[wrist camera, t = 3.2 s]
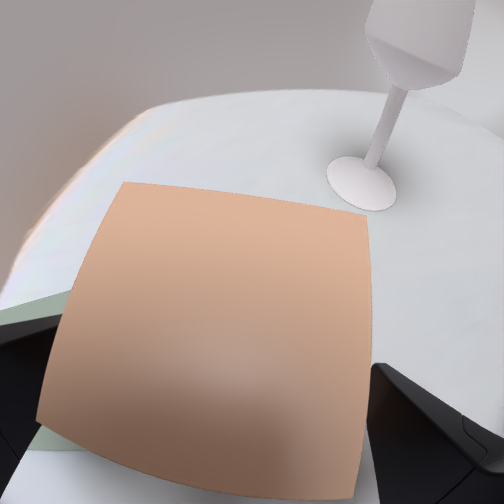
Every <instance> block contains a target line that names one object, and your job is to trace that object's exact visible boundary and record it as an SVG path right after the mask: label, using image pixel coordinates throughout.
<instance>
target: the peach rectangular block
mask: <svg viewBox="0 0 504 504" xmlns="http://www.w3.org/2000/svg"><path fill="white" fill-rule="evenodd" d="M371 353H372V285H371V264H370V249H369V237H368V226H367V216H365V215H360V214H355V213H350V212H345V211H340V210H335V209H329V208H324V207H318V206H313V205H307V204H301V203H295V202H289V201H283V200H276V199H270V198H263V197H257V196H250V195H243V194H235V193H228V192H220V191H212V190H204V189H195V188H186V187H177V186H167V185H156V184H145V183H133V182H123V184H122V185H121V187H120V189H119V191H118V192H117V194H116V196H115V198H114V200H113V202H112V203H111V205H110V207H109V209H108V211H107V213H106V215H105V217H104V219H103V220H102V222H101V224H100V226H99V228H98V230H97V233H96V235H95V237H94V239H93V241H92V243H91V245H90V247H89V249H88V252H87V254H86V256H85V258H84V261H83V263H82V265H81V268H80V270H79V272H78V275H77V277H76V280H75V282H74V285H73V287H72V290H71V292H70V295H69V298H68V300H67V303H66V306H65V309H64V311H63V314H62V317H61V320H60V323H59V326H58V329H57V333H56V336H55V339H54V342H53V346H52V349H51V353H50V356H49V360H48V364H47V368H46V372H45V376H44V380H43V385H42V389H41V394H40V399H39V405H38V410H37V416H36V421H37V422H39V423H40V424H42V425H43V426H45V427H47V428H48V429H50V430H52V431H53V432H55V433H57V434H59V435H60V436H62V437H64V438H66V439H68V440H69V441H71V442H73V443H75V444H77V445H79V446H81V447H83V448H85V449H87V450H89V451H91V452H93V453H95V454H98V455H100V456H102V457H104V458H107V459H109V460H111V461H114V462H116V463H118V464H121V465H123V466H126V467H129V468H131V469H134V470H137V471H140V472H142V473H145V474H148V475H151V476H155V477H158V478H161V479H164V480H168V481H171V482H175V483H179V484H182V485H186V486H191V487H195V488H199V489H204V490H209V491H214V492H219V493H225V494H231V495H238V496H246V497H254V498H264V499H278V500H338V499H351V498H353V495H354V490H355V486H356V481H357V476H358V471H359V466H360V460H361V454H362V448H363V441H364V434H365V427H366V419H367V410H368V399H369V388H370V373H371Z"/></svg>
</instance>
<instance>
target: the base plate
mask: <svg viewBox="0 0 504 504" xmlns="http://www.w3.org/2000/svg"><path fill="white" fill-rule="evenodd" d="M70 292H71V290H69V291H66V292H62V293H59V294H55V295H52V296H49V297H45V298H42V299H38V300H35V301H31V302H28V303H25V304H21V305H18V306H14V307H11V308H8V309H4V310H1V311H0V325H5V324H10V323H16V322H21V321H26V320H32V319H37V318H42V317H47V316H53V315H58V314H63V311H64V309H65V306H66V303H67V300H68V298H69V295H70ZM28 449H30V450H50V451H81V450H87V449H85V448H83V447H81V446H79V445H77V444H75V443H73V442H71V441H69V440H68V439H66V438H64V437H62V436H60V435H59V434H57V433H55V432H53V431H52V430H50V429H48V428H47V427H45V426H43V425H42V426H41V427H40V429H39V430H38V432H37V434H36V435H35V437H34V439H33V440H32V442H31V444H30V445H29V447H28Z"/></svg>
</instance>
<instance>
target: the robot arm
mask: <svg viewBox="0 0 504 504" xmlns="http://www.w3.org/2000/svg"><path fill="white" fill-rule="evenodd" d="M61 317H62V314H58V315H53V316H47V317H42V318H37V319H32V320H26V321H21V322H16V323H10V324H5V325H0V498H1V496H2V494H3V492H4V490H5V488H6V487H7V485H8V483H9V481H10V479H11V477H12V475H13V473H14V472H15V470H16V468H17V466H18V464H19V463H20V460H21V459H22V457H23V455H24V454H25V452H26V450H27V449H28V447H29V445H30V444H31V442H32V440H33V439H34V437H35V435H36V434H37V432H38V430H39V429H40V427H41V426H42V424H40V423H39V422H37V421H36V416H37V410H38V405H39V399H40V394H41V389H42V385H43V380H44V376H45V372H46V368H47V364H48V360H49V356H50V353H51V349H52V346H53V342H54V339H55V336H56V333H57V329H58V326H59V323H60V320H61ZM366 423H367V430H368V436H369V441H370V446H371V451H372V457H373V462H374V468H375V474H376V480H377V487H378V493H379V500H380V504H504V438H502V437H500V436H498V435H496V434H494V433H492V432H490V431H489V430H487V429H485V428H483V427H482V426H480V425H478V424H477V423H475V422H473V421H472V420H470V419H469V418H467V417H466V416H464V415H462V414H461V413H460V412H458V411H456V410H455V409H453V408H452V407H450V406H449V405H447V404H446V403H444V402H443V401H441V400H440V399H438V398H437V397H435V396H434V395H432V394H431V393H429V392H428V391H426V390H425V389H423V388H422V387H420V386H419V385H417V384H416V383H414V382H413V381H411V380H410V379H408V378H407V377H406V376H404V375H403V374H401V373H400V372H398V371H397V370H395V369H394V368H392V367H391V366H389V365H388V364H386V363H374V364H373V365H372V367H371V373H370V388H369V399H368V410H367V419H366Z"/></svg>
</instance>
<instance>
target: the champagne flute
mask: <svg viewBox="0 0 504 504" xmlns="http://www.w3.org/2000/svg"><path fill="white" fill-rule="evenodd" d="M475 2H476V0H373V3H372V6H371V9H370V12H369V15H368V18H367V21H366V24H365V35H366V38H367V42H368V45H369V47H370V49H371V51H372V53H373V55H374V57H375V58H376V60H377V61H378V63H379V65H380V66H381V68H382V70H383V71H384V73H385V74H386V76H387V77H388V78H389V79H390V80H391V81H392V82H393V84H392V87H391V90H390V93H389V96H388V99H387V101H386V104H385V107H384V110H383V113H382V115H381V118H380V121H379V123H378V126H377V129H376V131H375V134H374V137H373V139H372V142H371V144H370V147H369V149H368V152H367V154H366V157H365V159H362V158H358V157H350V156H346V157H340V158H337V159H335V160H333V161H332V162H331V163H330V164H329V165H328V167H327V171H326V174H327V179H328V182H329V184H330V186H331V187H332V189H333V190H334V191H335V192H336V193H337V195H339V196H340V197H341V198H342V199H343V200H345V201H347V202H348V203H350V204H352V205H354V206H356V207H358V208H361V209H364V210H370V211H380V210H385V209H387V208H389V207H390V206H392V205H393V203H394V202H395V200H396V189H395V185H394V183H393V182H392V180H391V178H390V177H389V176H388V175H387V174H386V173H385V172H384V171H383V170H382V169H381V168H380V167H378V166H377V165H378V163H379V160H380V158H381V156H382V154H383V151H384V149H385V147H386V144H387V142H388V140H389V137H390V135H391V133H392V130H393V128H394V125H395V123H396V121H397V118H398V116H399V113H400V111H401V108H402V105H403V103H404V100H405V98H406V95H407V92H408V90H421V89H425V88H430V87H434V86H437V85H442V84H444V83H446V82H448V81H451V80H452V79H453V78H455V77H457V76H458V74H459V73H460V72H461V68H462V65H463V61H464V57H465V53H466V48H467V45H468V40H469V36H470V31H471V25H472V19H473V15H474V9H475Z"/></svg>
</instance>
